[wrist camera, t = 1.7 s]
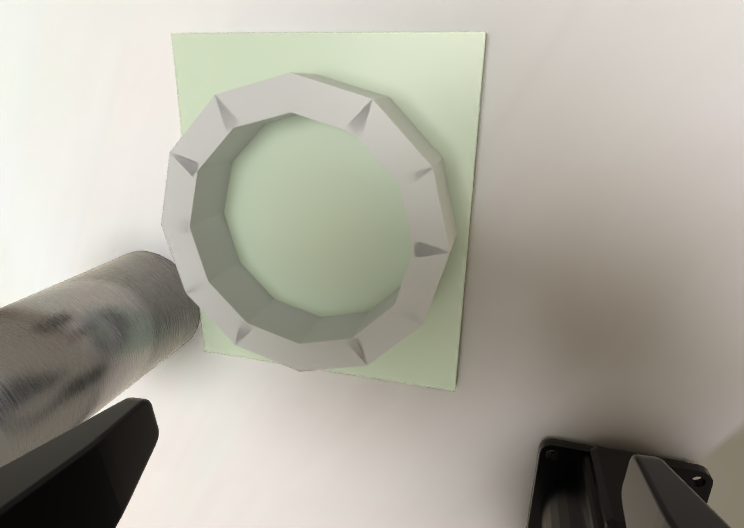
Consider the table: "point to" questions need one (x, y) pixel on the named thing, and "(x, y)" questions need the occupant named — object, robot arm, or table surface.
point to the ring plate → (327, 196)
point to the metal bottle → (86, 345)
